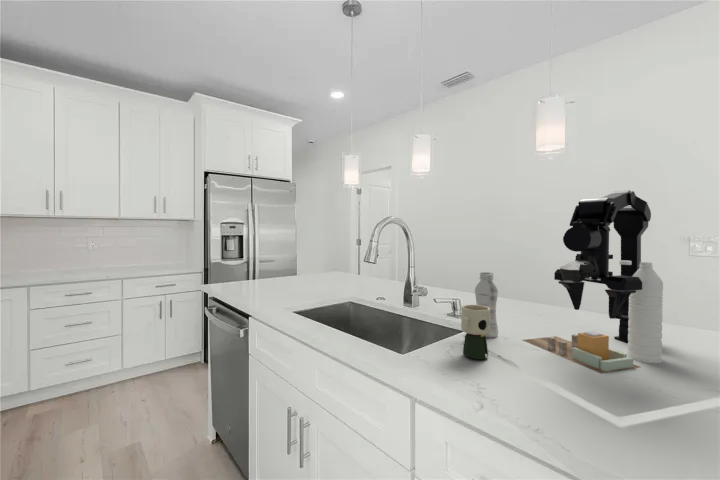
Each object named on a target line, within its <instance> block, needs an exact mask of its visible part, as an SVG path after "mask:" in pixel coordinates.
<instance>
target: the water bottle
mask: <svg viewBox="0 0 720 480" xmlns="http://www.w3.org/2000/svg"><path fill="white" fill-rule="evenodd" d="M631 263H632V261H625V260H621V259H620V260H619V263H618V264H619V265H620V266H621V265H631ZM639 266H640V268H639V269H638V270H637V271H636V272H635V273H634V274H633V277H639V278H640V280H641V281H642V290H636V293H631V294H630V296H629V312H628V318H629V320H628V326H629V328H628V332H629V333H628V341H629V342H627V357H631V358H633V361H634V360H635V361H638V362H643V363H647V364H648V363H649V364H660V363H662V361H663V359H662V352H663V351H662V346H663V343H662V342H663V340H662V339H663V333H662V331H663V302H664V299H663V296H664V294H663V291H664V282H663V280H662V279H661V277H660V276H659V275H658V273H657V272H656V271H655V270H654V269H653V267H654V266H653V262H647V261H646V262H645V261H641V262H640V265H639Z"/></svg>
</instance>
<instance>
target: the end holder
mask: <svg viewBox="0 0 720 480" xmlns="http://www.w3.org/2000/svg"><path fill="white" fill-rule="evenodd" d="M572 358H574V359H576V360H578V361H581V362H583V363H586V364H588V365H591V366H593V367H595V368H598V369H600V368H601V370H603V371H610V370H617V369H624V368H630V367H633V364H634V359H633V358H631V357H628V353H624V352H621V351H619V350H616V349H613V348H610V347H609V350H608V359H609V360H604V361H602V357H599V356H597V355H594V354H591V353H589V352H586V351H583V350H581V349H578V348H572Z"/></svg>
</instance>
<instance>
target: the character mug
mask: <svg viewBox="0 0 720 480" xmlns="http://www.w3.org/2000/svg"><path fill="white" fill-rule="evenodd" d="M460 311H461V313H460V314H461V315H460V316H461V317H460V319H461V323H460V325H461V331H462V332H464V333H465V336H464V340H463V347H462V355H464V356H466V357H468V358H471V359H474V360H485V359H486V358H489V353H488V351H489V350H488V344H487V343H488V342H487V338H486V337H485V334H488V333H489V332H490V326H489V321H490V308H489V307H486V306H482V305H477V304H465V305H462V306H461V309H460Z"/></svg>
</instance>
